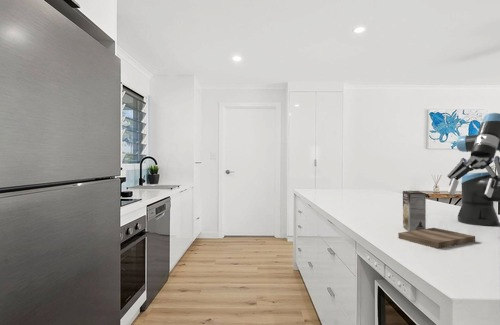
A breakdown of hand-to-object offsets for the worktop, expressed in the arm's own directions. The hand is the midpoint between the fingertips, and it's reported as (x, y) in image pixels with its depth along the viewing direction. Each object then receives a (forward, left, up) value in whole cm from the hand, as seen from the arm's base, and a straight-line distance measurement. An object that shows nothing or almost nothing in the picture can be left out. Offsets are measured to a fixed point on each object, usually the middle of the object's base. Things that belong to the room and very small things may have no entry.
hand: (468, 194), depth 113 cm
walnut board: (+18, -1, -16) cm, 24 cm away
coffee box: (+11, -15, -16) cm, 24 cm away
